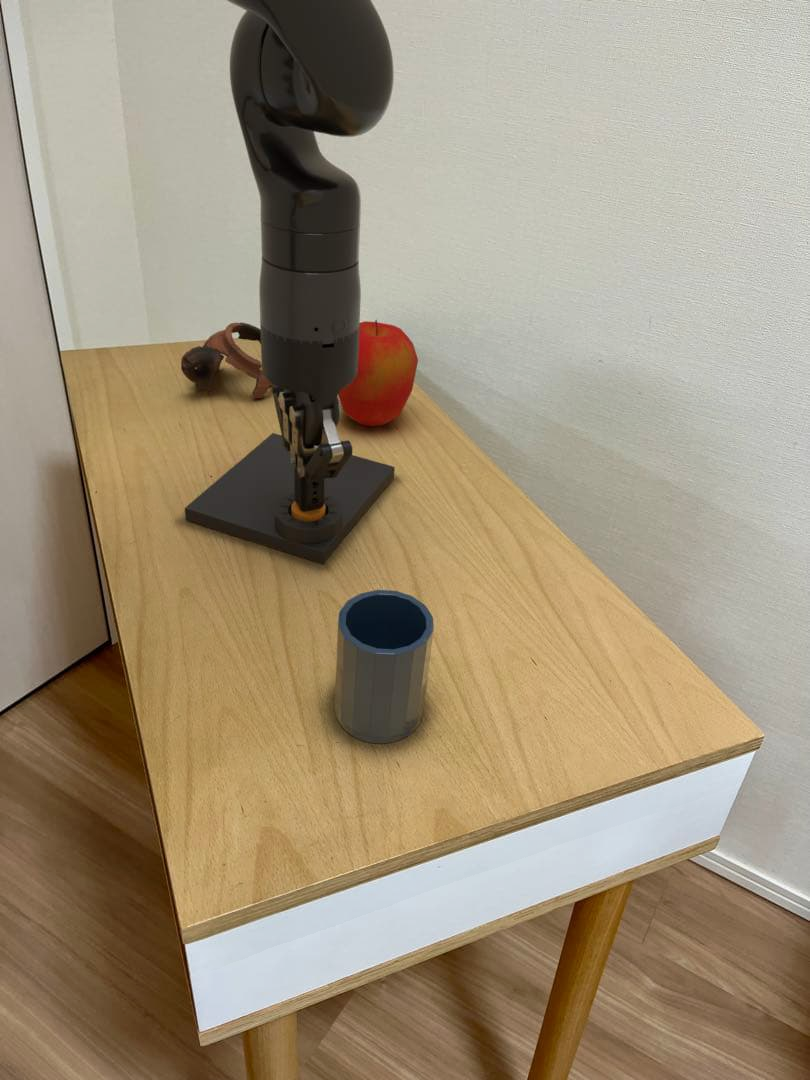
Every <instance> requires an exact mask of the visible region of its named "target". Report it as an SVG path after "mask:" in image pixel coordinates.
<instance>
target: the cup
mask: <svg viewBox="0 0 810 1080" xmlns="http://www.w3.org/2000/svg"><path fill="white" fill-rule="evenodd" d="M434 629H435V628H434V616H433V615H432V613H431V612H430V610H429V608H428V607H427V605H426V604H424V603H423V602H421V601H420V600H418V599H417V598H416V597H414V596H413V595H410V594H408V593H404V592H401V591H398V590H388V589H375V590H370V591H364V592H361V593H358V594H356V595H355V596H353V597H352V598H350V599H348V600H347V601H346V602H345V603H344V605H343V606H342V607H341V608H340V610H339V612H338V620H337V639H336V643H337V644H336V664H335V665H336V669H335V695H334V713H335V717H336V719H337V721H338V723H339V725H340V726H341V728H343V730H344V731H345V732H346V733H348V734H349V735H350V736H352V737H354V738H355V739H358V740H360V741H363V742H367V743H372V744H390V743H394V742H398V741H400V740H403V739H405V738H406V737H408V736H410V735H411V734H412V733H413V732H414V731H415V730H416V729H417V728H418V726H419V724H420V723H421V720H422V718H423V717H422V716H423V713H424V707H425V698H426V691H427V683H428V678H429V677H428V676H429V668H430V661H431V654H432V646H433V638H434V631H435V630H434Z"/></svg>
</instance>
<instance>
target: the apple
mask: <svg viewBox="0 0 810 1080" xmlns="http://www.w3.org/2000/svg"><path fill="white" fill-rule="evenodd" d="M418 363H419V358H418V355H417V352H416V348H415V345H414V343H413V341H412V340H411V339H410V338H409V336H408V335H407V333H406V332H405V331H404V330H403V329H402V328H400V327H398V326H396V325H393V324H389V323H385V322H384V323H383V322H378V320H377V318H376V319H375V321H366V320H365V321H360V327H359V349H358V371H357V375H356V377H355V379H354V380H353V381H352V382H351V383H350V384H349V385H347V386H346V387H344V388H343V389H342V390H341V391H340V392H339V393H338V396H337V397H338V400H339V402H340V406H341V409H342V411H343V412H344V414H345V415H347V416H348V417H349V418H350V419H352V420H354V421H355V422H356V423H358V424H360V425H361V426H366V427H380V426H383V425H386V424H387V423H389V422H391V421H392V420H395V419H396V418H397V417H399V416H401V414H402V412H403V410H404V408H405V406H406V404H407V402H408V400H409V398H410V396H411V394H412V392H413V388H414V383H415V379H416V374H417V368H418Z"/></svg>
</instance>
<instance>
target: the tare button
mask: <svg viewBox="0 0 810 1080" xmlns="http://www.w3.org/2000/svg"><path fill="white" fill-rule="evenodd" d="M325 509H326V507H325V504H324V505H323V507H322V508H320V509H315V510H310V511H305V512H303V511H301V510H300V508H299V506H298V505H297V503H296V502H295V501H294V502H293V504H292V506H291V516H292V517H293V518H294V519H297V520H301V521H317V520H320V519H323V518H324V517H325Z"/></svg>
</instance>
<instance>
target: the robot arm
mask: <svg viewBox="0 0 810 1080" xmlns="http://www.w3.org/2000/svg"><path fill="white" fill-rule="evenodd" d="M226 1H227V2H228V3H231V4H232V5H234V6H237V7H239V8H240V9H243V10H245V12H244V13H243V15H242V16H241V17H240V18H239V19H240V20H239V21H238V24H237V26H236V28H235V31H234V34H233V38H232V40H231V46H230V52H229V80H230V81H229V82H230V89H231V94H232V99H233V100H232V101H233V104H234V108H235V112H236V117H237V120H238V123H239V127H240V130H241V134H242V137H243V141H244V146H245V149H246V153H247V156H248V160H249V165H250V167H251V171H252V174H253V177H254V181H255V184H256V188H257V191H258V194H259V201H260V212H259V213H260V247H261V249H260V250H261V265H260V273H259V285H258V287H259V288H258V289H259V292H258V293H259V294H258V296H259V324H260V328H259V329H261V344H260V353H261V355H260V356H261V365H262V366H261V370H262V371H263V374H264V376H265V377H266V378H267V379H268V380H269V381H270V382H271V383H272V387H271V388H270V389H271V393H272V396H273V401H274V406H275V411H276V415H277V419H278V424H279V429H280V435H282V438H283V446H284V447H285V450H286V451H290V462H291V464H292V466H293V468H294V487H295V502H296V503H297V505H298V506H299V508H300V510H301V511H303V512H305V511H310V510H315V509H320V508H322V507H323V505H324V479H326V478H335V477H337V475H338V474H339V472H340V471H341V469H342V468H343V467H344V465H345V464H346V462H347V461H348V459H349V458H350V457H351V455H353V445H352V442H351V441H350V440H341V439H340V436H339V433H338V425H339V423H340V421H341V417H342V413H341V412H342V406H341V402H340V399H339V396H338V393H339V392H340V391H341V390H342V389H343V388H344V387H346V386H347V385H349V384H350V383H351V382H352V381H353V380H354V379H355V377H356V375H357V371H358V349H359V327H360V323H361V321H360V320H361V302H362V301H361V300H362V289H361V288H362V286H361V277H360V261H359V260H360V259H359V258H360V244H361V243H360V240H361V239H360V238H361V217H362V216H361V215H362V199H361V197H362V196H361V191H360V190H361V189H360V187H359V185H358V183H357V181H356V180H355V179H354V178H353V176H352V175H350V174H349V173H348V172H346V171H345V170H343V169H341V168H339V167H338V166H336V165H335V164H334V163H331V162H330V161H329V160H328V159H327V158H326V157H325V156H324V155H323V154H322V152H321V150H320V147H319V144H318V140H317V136H316V134H315V133H320V134H324V135H328V136H332V137H340V138H354V137H358V136H359V137H360V136H362V135H364V134H367V133H368V132H370V131H371V130H372V129H373V128H374V127H377V125H378V124H379V123H380V122H381V120H382V119H383V117H384V115H385V113H387V110H388V107H389V105H390V102H391V99H392V98H391V97H392V95H393V89H394V82H395V81H394V80H395V73H394V70H395V69H394V57H393V52H392V48H391V44H390V39H389V36H388V33H387V30H386V28H385V26H384V22H383V21H382V18H381V16H380V14H379V12H378V10H377V9H376V6H375V5H374V3H373V1H372V0H226Z"/></svg>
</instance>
